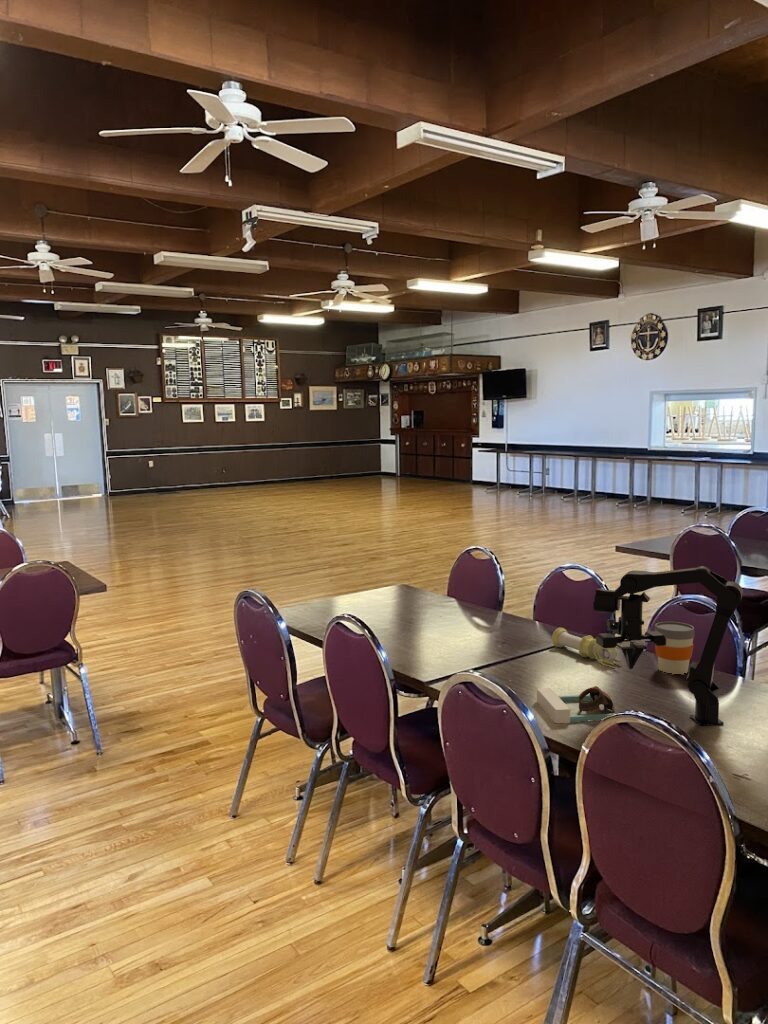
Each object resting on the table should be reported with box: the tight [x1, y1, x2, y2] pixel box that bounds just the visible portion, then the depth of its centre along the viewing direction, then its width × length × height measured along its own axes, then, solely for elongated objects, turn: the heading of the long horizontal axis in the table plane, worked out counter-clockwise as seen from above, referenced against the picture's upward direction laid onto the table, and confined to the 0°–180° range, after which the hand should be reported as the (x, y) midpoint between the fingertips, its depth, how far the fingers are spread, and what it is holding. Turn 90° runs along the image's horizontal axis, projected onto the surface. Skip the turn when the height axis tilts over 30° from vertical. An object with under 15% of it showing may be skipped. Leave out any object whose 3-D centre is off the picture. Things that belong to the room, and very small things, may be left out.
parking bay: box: [536, 687, 616, 724], centre depth 211 cm, size 17×20×4 cm
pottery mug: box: [577, 685, 616, 714], centre depth 210 cm, size 12×10×8 cm
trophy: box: [551, 627, 623, 669], centre depth 261 cm, size 8×8×30 cm
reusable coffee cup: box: [653, 621, 696, 675], centre depth 244 cm, size 13×13×15 cm
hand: (630, 668), depth 211 cm, fingers closed
